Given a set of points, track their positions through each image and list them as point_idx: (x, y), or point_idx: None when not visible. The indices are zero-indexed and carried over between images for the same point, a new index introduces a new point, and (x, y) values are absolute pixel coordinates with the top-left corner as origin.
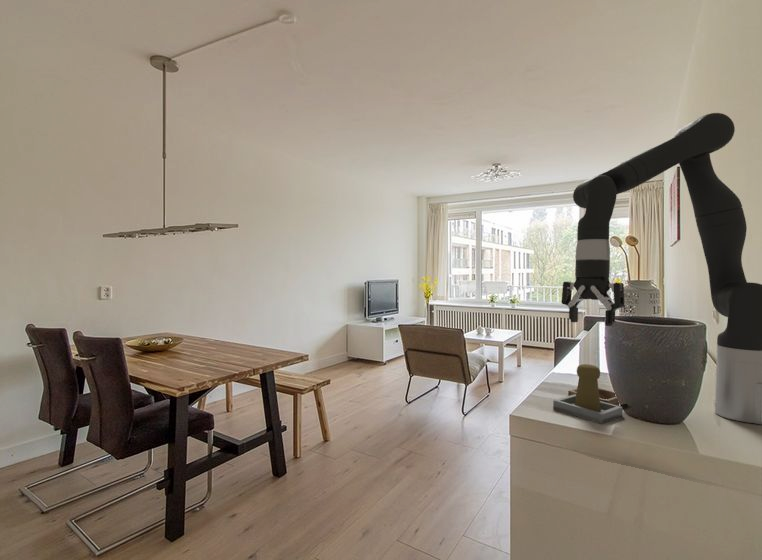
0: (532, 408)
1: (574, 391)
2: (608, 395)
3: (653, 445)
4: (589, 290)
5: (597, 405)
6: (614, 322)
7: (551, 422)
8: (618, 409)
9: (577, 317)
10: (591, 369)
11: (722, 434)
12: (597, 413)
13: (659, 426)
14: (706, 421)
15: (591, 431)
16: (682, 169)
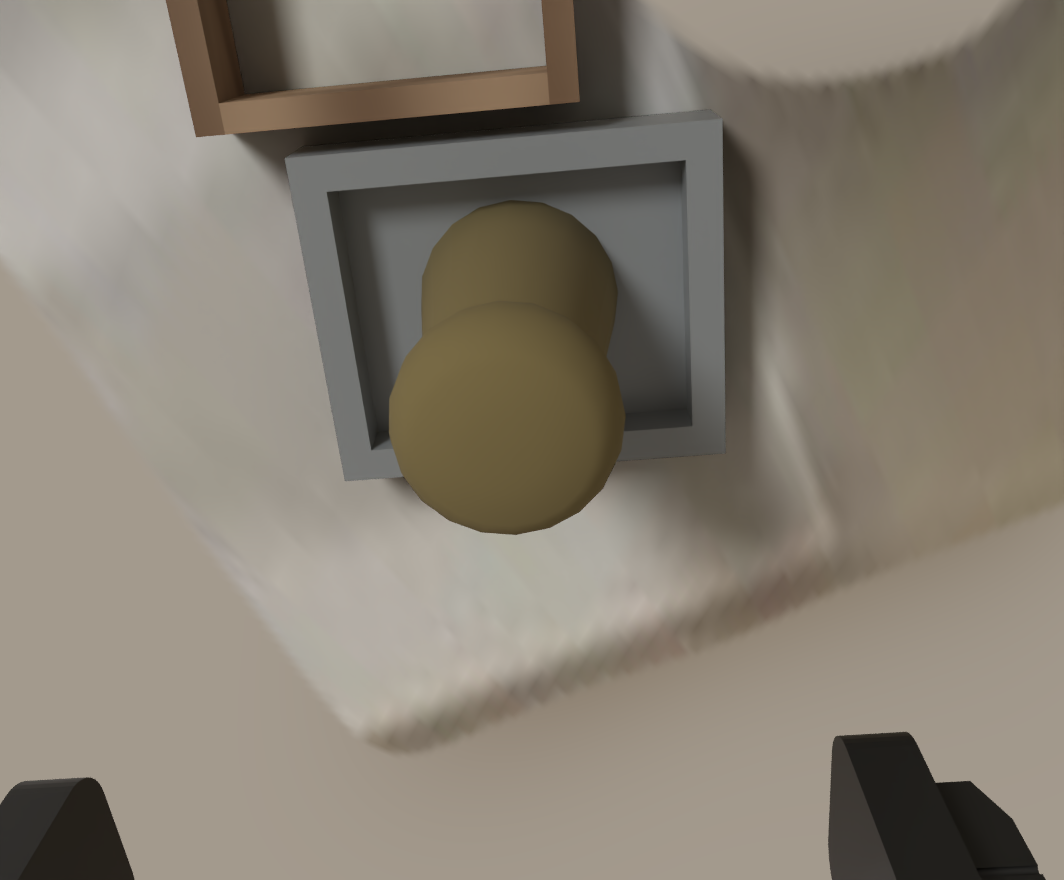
0: (291, 564)
1: (237, 103)
2: None
3: (1058, 482)
4: None
5: (611, 327)
6: (989, 800)
7: (534, 662)
8: (722, 197)
9: (41, 858)
10: (585, 504)
11: None
12: (690, 453)
13: (985, 79)
14: None
15: (744, 590)
16: None
